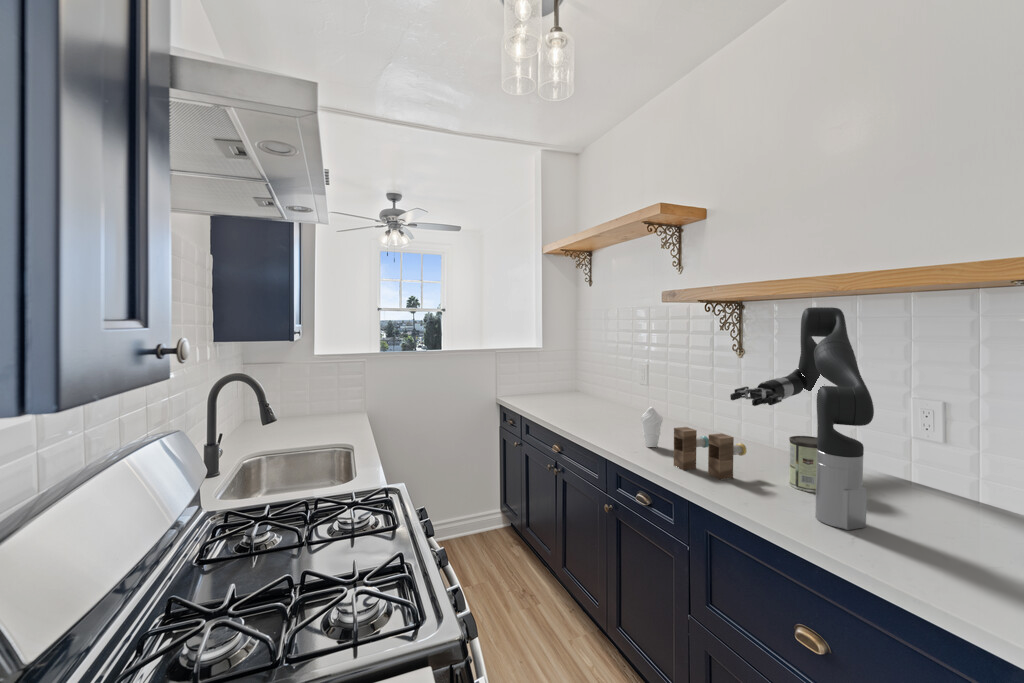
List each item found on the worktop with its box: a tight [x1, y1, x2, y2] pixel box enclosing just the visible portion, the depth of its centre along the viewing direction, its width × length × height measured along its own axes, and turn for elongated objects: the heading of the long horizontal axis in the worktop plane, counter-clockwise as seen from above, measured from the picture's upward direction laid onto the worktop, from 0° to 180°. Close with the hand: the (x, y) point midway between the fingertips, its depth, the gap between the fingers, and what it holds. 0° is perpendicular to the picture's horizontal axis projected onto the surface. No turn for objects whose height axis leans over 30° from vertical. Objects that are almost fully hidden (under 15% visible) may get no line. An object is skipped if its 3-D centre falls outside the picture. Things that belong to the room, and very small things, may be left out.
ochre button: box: [733, 442, 747, 456], centre depth 144 cm, size 4×7×4 cm, turn 106°
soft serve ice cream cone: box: [640, 406, 664, 448], centre depth 177 cm, size 8×8×16 cm
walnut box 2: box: [707, 432, 735, 481], centre depth 143 cm, size 5×5×13 cm
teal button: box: [696, 435, 709, 449], centre depth 153 cm, size 4×7×4 cm, turn 106°
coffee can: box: [788, 435, 817, 494], centre depth 134 cm, size 10×10×14 cm
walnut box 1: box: [673, 426, 698, 471], centre depth 152 cm, size 5×5×13 cm
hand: (741, 400), depth 151 cm, fingers open, 8 cm apart
